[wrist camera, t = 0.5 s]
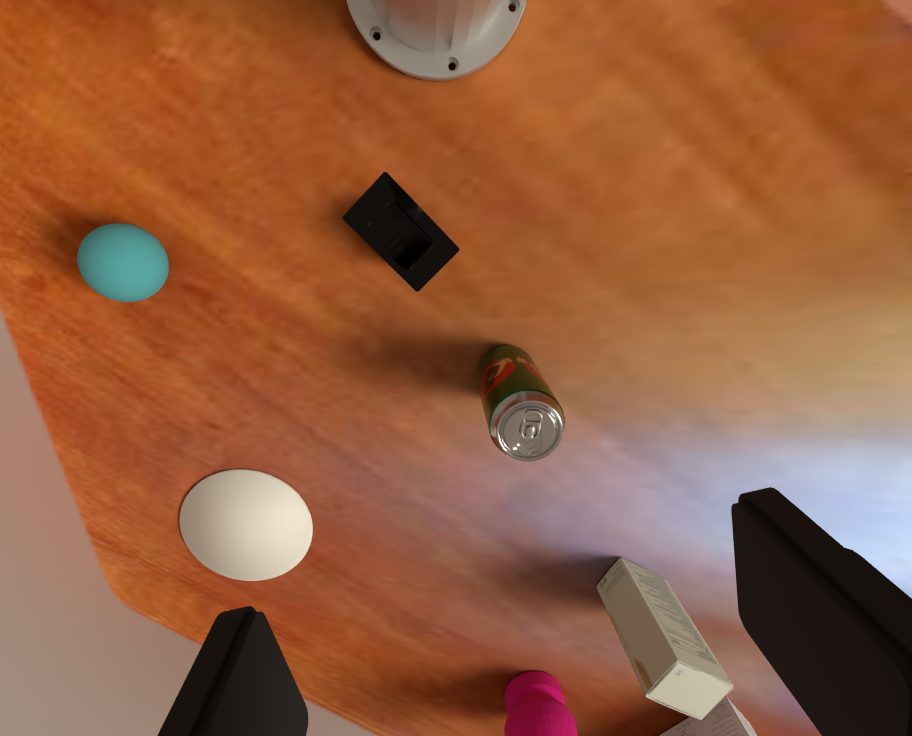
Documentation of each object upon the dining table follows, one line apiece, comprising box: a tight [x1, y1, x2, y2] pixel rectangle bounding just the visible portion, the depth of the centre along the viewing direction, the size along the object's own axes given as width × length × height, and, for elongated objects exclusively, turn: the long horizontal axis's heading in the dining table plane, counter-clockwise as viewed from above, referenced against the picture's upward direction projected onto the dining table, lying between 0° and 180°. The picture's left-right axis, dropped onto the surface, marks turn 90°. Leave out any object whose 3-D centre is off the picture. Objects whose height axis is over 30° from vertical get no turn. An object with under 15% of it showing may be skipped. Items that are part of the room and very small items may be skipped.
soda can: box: [476, 346, 565, 461], centre depth 39 cm, size 5×5×12 cm
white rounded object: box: [180, 469, 313, 581], centre depth 48 cm, size 12×12×1 cm
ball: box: [77, 223, 169, 302], centre depth 38 cm, size 6×6×6 cm
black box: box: [343, 172, 459, 292], centre depth 39 cm, size 12×7×5 cm, turn 44°
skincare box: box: [596, 558, 733, 720], centre depth 47 cm, size 6×4×12 cm
